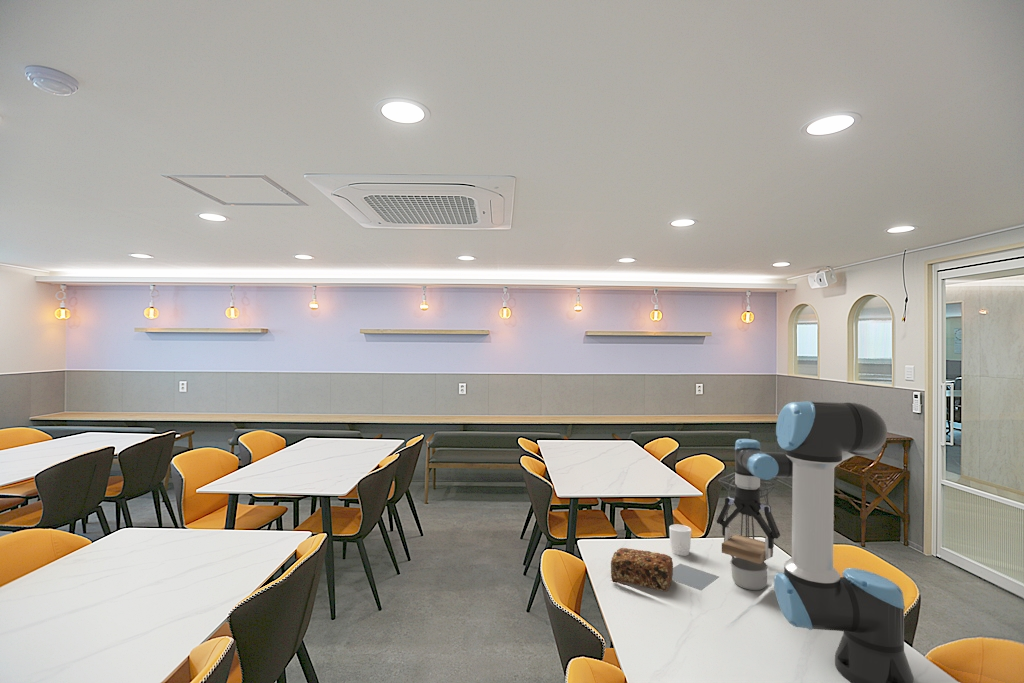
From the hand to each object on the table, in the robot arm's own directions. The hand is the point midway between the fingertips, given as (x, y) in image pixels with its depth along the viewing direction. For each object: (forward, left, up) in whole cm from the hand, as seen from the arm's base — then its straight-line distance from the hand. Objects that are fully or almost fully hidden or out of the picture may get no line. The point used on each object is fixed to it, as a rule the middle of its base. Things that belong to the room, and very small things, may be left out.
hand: (747, 551), depth 162 cm
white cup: (+7, +27, -11) cm, 30 cm away
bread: (-24, +25, -11) cm, 37 cm away
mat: (-10, +15, -11) cm, 21 cm away
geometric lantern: (+17, +6, -11) cm, 21 cm away
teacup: (0, 0, -11) cm, 11 cm away
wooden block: (0, 0, 0) cm, 0 cm away
